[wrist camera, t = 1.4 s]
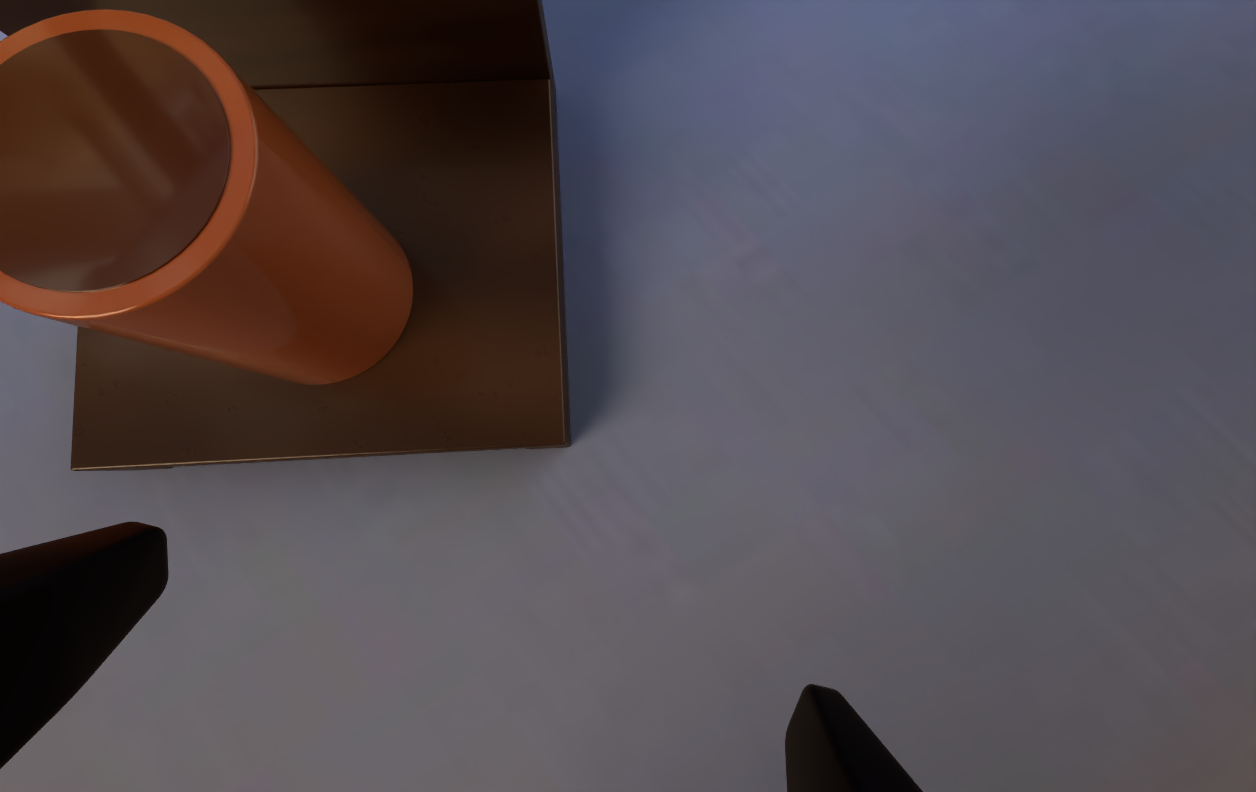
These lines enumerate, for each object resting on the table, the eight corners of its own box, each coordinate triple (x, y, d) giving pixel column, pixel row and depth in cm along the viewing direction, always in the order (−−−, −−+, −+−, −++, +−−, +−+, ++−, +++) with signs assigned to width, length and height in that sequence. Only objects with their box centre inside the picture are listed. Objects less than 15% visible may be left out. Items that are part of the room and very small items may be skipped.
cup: (332, 422, 20) (98, 386, 11) (188, 310, 20) (-155, 186, 11) (451, 276, 20) (323, 129, 11) (310, 171, 21) (78, -54, 12)
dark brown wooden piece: (571, 446, 22) (545, 435, 14) (130, 470, 22) (-173, 473, 14) (555, 89, 24) (524, -115, 16) (144, 104, 24) (-118, -98, 15)
